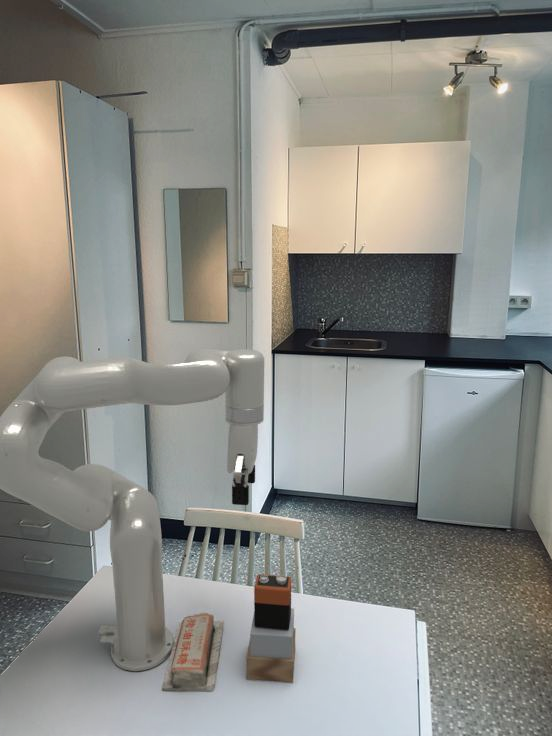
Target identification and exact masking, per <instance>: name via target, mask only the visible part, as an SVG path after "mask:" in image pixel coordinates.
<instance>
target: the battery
mask: <svg viewBox="0 0 552 736" xmlns="http://www.w3.org/2000/svg"><path fill="white" fill-rule="evenodd" d="M255 579H256V580H255V584H254V586H253V607H254V608H253V610H254V611H253V615H254V625H255V627H261V628H272V629H283V630H288V629H289V626H290V618H291V608H292V577H291V576H288V575H287V576H286V575H284V574H278V575H275V574H272V575H271V574H257V575H256V578H255Z"/></svg>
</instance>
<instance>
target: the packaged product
mask: <svg viewBox="0 0 552 736" xmlns="http://www.w3.org/2000/svg"><path fill="white" fill-rule="evenodd" d="M214 617H215V616H214V615H213V614H211V613H207V612H201V613H197V614H194V615H188V616H186V617H184V618H183V619H182V621H181V622H178V625H177V629H176V634H175V638H174V639H173V641H174V644H173V648H172V651H171V653H170V655H169V656H170V657H169V661H168V664H167V668H166V672H165V675H164V679H163V682H162V687H161V690H162V691H164V692H166V691H167V692H214V690H215V685H216V682H217V681H216V680H217V678H216V677H217V672H218V667H219V661H220V656H221V649H222V643H223V636H224V624H225V623H224V622H225V621H224V620H214V619H215V618H214Z"/></svg>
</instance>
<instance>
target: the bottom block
mask: <svg viewBox="0 0 552 736" xmlns="http://www.w3.org/2000/svg"><path fill="white" fill-rule="evenodd" d="M296 629H297V628H295V627H294V633H293V650H292V659H280V658H264V657H250V640H249V643H248V647H247V653H246V661H245V662H246V666H245V667H246V671H245V672H246V681H262V682H273V683H274V682H277V683H286V684H287V683H289V684H290V683H291V684H293V683H294V674H295V673H294V672H295V656H296V632H297V631H296Z"/></svg>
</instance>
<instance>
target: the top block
mask: <svg viewBox="0 0 552 736" xmlns="http://www.w3.org/2000/svg"><path fill="white" fill-rule="evenodd" d="M294 626H295V608H292V607H291V618H290V626H289V629H288V630H283V629H272V628H261V627H255V625H254V614H253V615H252V622H251V627H250V634H249V635H250V636H249V637H250V638H249V641H250V657H264V658H280V659H292V650H293V633H294V628H295V627H294Z"/></svg>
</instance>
